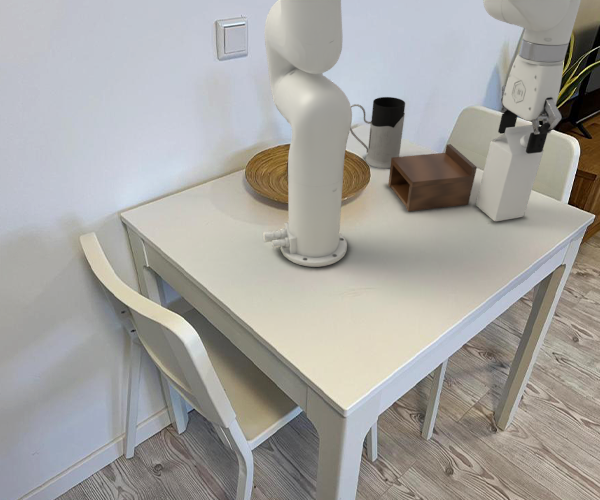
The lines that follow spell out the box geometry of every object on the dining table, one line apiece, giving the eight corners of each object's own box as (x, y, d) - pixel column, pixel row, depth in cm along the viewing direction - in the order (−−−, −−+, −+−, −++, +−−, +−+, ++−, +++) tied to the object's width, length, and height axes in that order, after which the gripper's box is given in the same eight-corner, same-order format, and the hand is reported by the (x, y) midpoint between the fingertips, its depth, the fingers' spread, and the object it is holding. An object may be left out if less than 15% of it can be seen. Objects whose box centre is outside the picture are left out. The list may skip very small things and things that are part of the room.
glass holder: (398, 170, 125) (406, 110, 116) (341, 163, 127) (344, 104, 119) (401, 155, 132) (409, 97, 123) (347, 149, 134) (350, 92, 126)
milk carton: (475, 205, 111) (495, 121, 100) (503, 201, 113) (525, 117, 102) (494, 222, 105) (517, 135, 94) (523, 217, 107) (550, 131, 96)
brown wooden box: (408, 211, 109) (414, 173, 103) (388, 185, 118) (392, 149, 113) (468, 204, 111) (477, 167, 106) (443, 179, 121) (450, 144, 116)
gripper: (497, 40, 96) (479, 127, 106) (554, 66, 83) (527, 163, 93) (533, 38, 98) (512, 124, 108) (594, 63, 84) (563, 158, 94)
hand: (519, 142), depth 100 cm, fingers open, 9 cm apart
